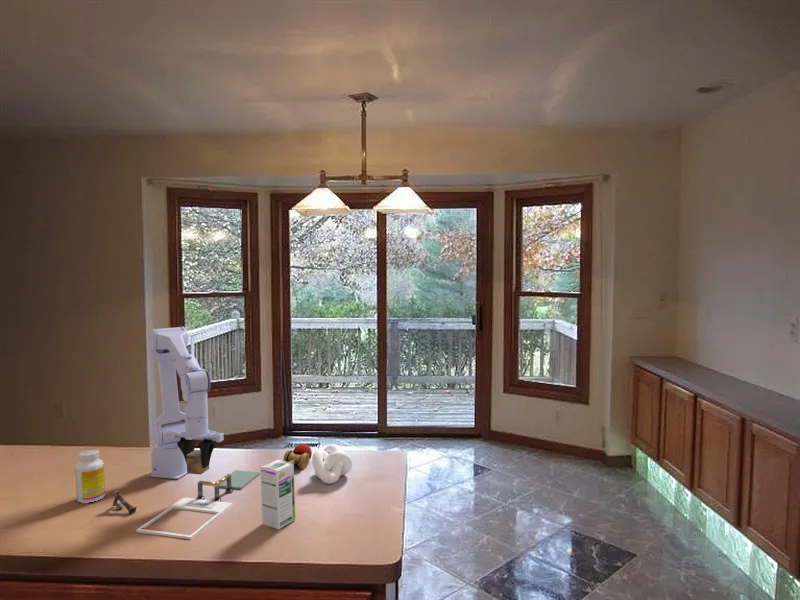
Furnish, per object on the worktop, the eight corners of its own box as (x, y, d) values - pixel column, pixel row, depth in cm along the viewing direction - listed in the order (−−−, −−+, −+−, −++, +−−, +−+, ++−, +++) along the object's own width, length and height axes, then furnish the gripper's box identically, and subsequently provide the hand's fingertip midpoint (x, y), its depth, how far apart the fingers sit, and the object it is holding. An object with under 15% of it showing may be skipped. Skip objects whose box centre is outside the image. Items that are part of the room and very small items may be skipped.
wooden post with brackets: (114, 501, 140) (118, 487, 139) (133, 520, 137) (137, 506, 136) (108, 504, 138) (112, 490, 137) (126, 523, 135) (130, 508, 134)
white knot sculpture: (353, 470, 163) (353, 441, 162) (351, 486, 151) (350, 455, 150) (316, 470, 163) (316, 442, 162) (311, 487, 151) (310, 456, 150)
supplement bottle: (110, 496, 145) (109, 450, 144) (87, 506, 139) (85, 458, 138) (94, 491, 148) (92, 446, 147) (71, 501, 142) (68, 454, 141)
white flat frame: (232, 502, 140) (190, 536, 122) (232, 506, 140) (190, 541, 122) (183, 496, 143) (136, 529, 126) (184, 500, 143) (136, 533, 126)
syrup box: (278, 530, 126) (277, 470, 125) (261, 524, 130) (259, 465, 128) (295, 520, 131) (294, 463, 130) (278, 514, 134) (277, 458, 133)
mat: (215, 487, 151) (215, 484, 151) (235, 472, 162) (235, 470, 161) (241, 489, 149) (241, 487, 149) (259, 474, 160) (259, 472, 160)
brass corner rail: (194, 500, 142) (194, 481, 142) (211, 488, 150) (211, 469, 150) (218, 503, 141) (218, 483, 140) (234, 490, 148) (233, 472, 148)
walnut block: (187, 473, 141) (186, 455, 141) (196, 467, 145) (195, 449, 145) (200, 474, 141) (200, 456, 140) (209, 468, 144) (208, 450, 144)
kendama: (294, 486, 154) (319, 456, 171) (289, 466, 153) (314, 438, 170) (271, 488, 156) (298, 458, 173) (265, 468, 155) (293, 440, 172)
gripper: (162, 418, 140) (164, 469, 141) (212, 422, 136) (214, 473, 137) (179, 411, 147) (181, 459, 147) (227, 414, 143) (228, 463, 144)
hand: (198, 466), depth 143 cm, fingers closed on walnut block, 4 cm apart
